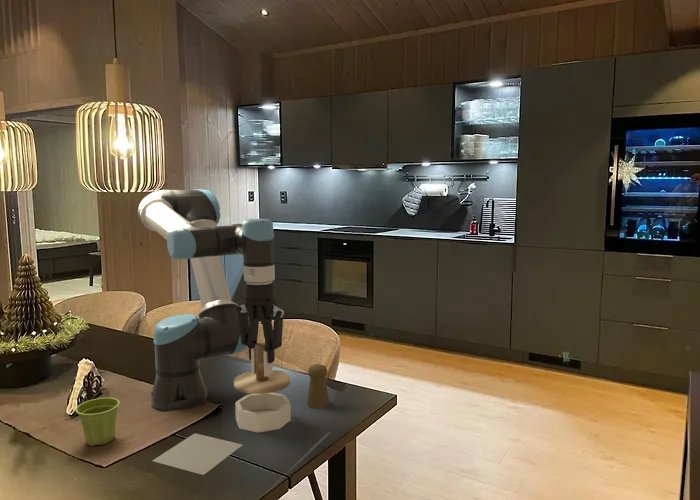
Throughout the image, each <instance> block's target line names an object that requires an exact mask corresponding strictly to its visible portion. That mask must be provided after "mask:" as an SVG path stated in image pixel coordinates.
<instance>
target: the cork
mask: <svg viewBox="0 0 700 500" xmlns="http://www.w3.org/2000/svg"><path fill="white" fill-rule="evenodd" d="M307 371H308V376H309V386H308V387H309V388H308V395H307V404H306V406H307V407H309V408H310V409H314V410H319V409H320V410H321V409H325V408H327V407H329V405H330V400H329V394H328V388H327V387H328V386H327V380H326V379H327V375H328V368H327V366H326V365H324V364H320V363H317V364H311V365H310V366H309V367H308V370H307Z"/></svg>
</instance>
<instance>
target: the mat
mask: <svg viewBox="0 0 700 500" xmlns="http://www.w3.org/2000/svg"><path fill="white" fill-rule="evenodd" d="M242 446H243V444H241V443H237V442H233V441H228V440H225V439H221V438H216V437H212V436H207V435H204V434H200V433H197V432H196V433H193V434H191V435H190V436H188V437H187V438H185V439H183V440H182V441H181V442H178V443H177V444H176V445H174V446H173V447H172V448H169V449H168V450H166V451H165V452H163V453H162V454H160V455H159V456H157V457H155V458H154V459H153V460H152V462H153V463H158V464H161V465H165V466H168V467H172V468H175V469H176V468H177V469H180V470H184V471H186V472H187V471H188V472H191V473H194V474H197V475H202V476H204V475H206V474H207V473H208V472H210V471H211V470H212V469H214V468H215V467H217V465H219V464H220V463H221V462H223V461H224V460H226V459H227V458H228V457H230V455H232V454H233V453H235V451H237V450H238V449H239V448H241V447H242Z"/></svg>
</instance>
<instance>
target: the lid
mask: <svg viewBox="0 0 700 500" xmlns="http://www.w3.org/2000/svg"><path fill="white" fill-rule="evenodd" d="M265 349H266V345H265V342H257V344H255V356H256V374H252V370H250V371H247V372H244V373H240V374H239V375H237V376H236V377H235V378H234V379H233V388H234V389H235V390H236V391H239V392H241V393H245V394H265V393H276V392H279V391H282V390H283V389H286V388H287V387H288V386H290V384H291V376H290V375H289V373H287V372H285V371H282V370H278V369H277V370H276V369H272V371H273V373H272V374H270V375H269V376H267V377H266V376H264V354H263V351H264V350H265Z"/></svg>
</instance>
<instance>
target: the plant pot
mask: <svg viewBox="0 0 700 500" xmlns="http://www.w3.org/2000/svg"><path fill="white" fill-rule="evenodd" d="M120 402H121V401H120V400H119V399H117V398H114V397H99V398H94V399H93V398H92V399H90V400H87V401H84V402H82V403H80V404H79V405H78V406H76V407H75V412H76V415H78V418H79V419H80V422H81V425H82V430H83V435H84V439H85V442H86V444H87V445H88V446H96V445H97V446H98V445H99V446H103V445H106V444H109V443H110V442H112V441H114V438H115V436H116V434H115V433H116V419H117V412H118V410H119V409H118V408H119V406H120Z"/></svg>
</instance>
